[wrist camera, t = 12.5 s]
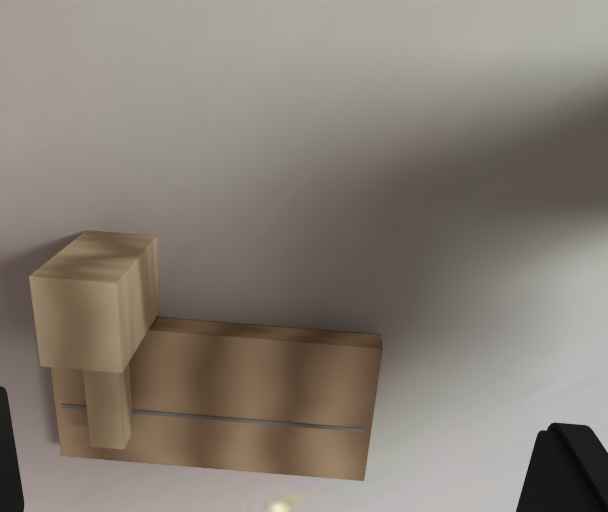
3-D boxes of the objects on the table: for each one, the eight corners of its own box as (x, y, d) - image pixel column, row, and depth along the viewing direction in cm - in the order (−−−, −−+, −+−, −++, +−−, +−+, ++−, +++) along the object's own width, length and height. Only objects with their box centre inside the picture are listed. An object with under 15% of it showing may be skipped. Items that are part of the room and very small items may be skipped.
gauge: (156, 235, 39) (116, 283, 31) (162, 405, 44) (128, 480, 37) (86, 230, 39) (28, 276, 31) (100, 400, 44) (54, 474, 37)
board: (379, 334, 41) (382, 349, 39) (362, 462, 45) (364, 481, 43) (57, 309, 41) (44, 322, 39) (72, 438, 46) (60, 456, 44)
